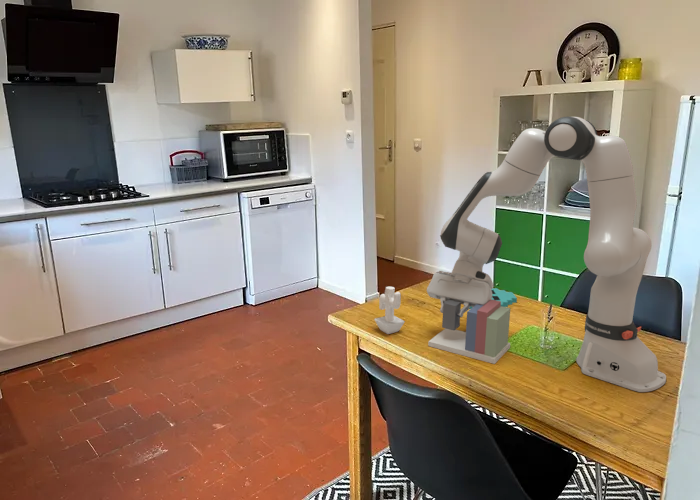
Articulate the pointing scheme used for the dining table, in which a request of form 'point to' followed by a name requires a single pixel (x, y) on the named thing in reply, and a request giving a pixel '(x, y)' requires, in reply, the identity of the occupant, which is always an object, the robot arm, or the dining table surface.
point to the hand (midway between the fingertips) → (450, 314)
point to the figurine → (389, 311)
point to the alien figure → (503, 297)
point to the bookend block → (451, 314)
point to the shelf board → (459, 345)
